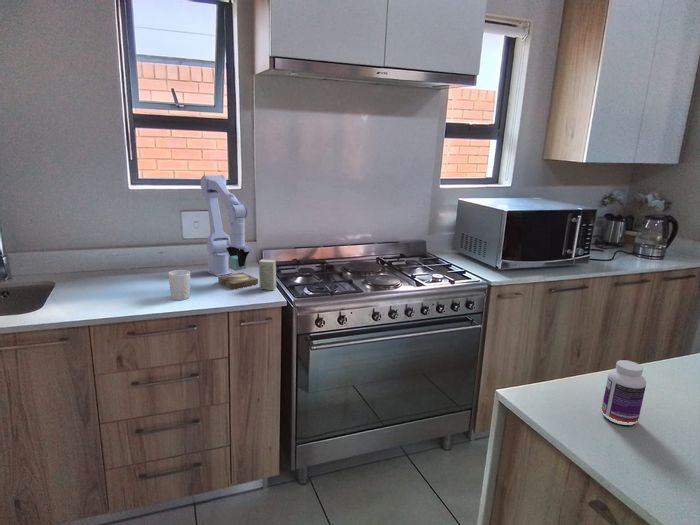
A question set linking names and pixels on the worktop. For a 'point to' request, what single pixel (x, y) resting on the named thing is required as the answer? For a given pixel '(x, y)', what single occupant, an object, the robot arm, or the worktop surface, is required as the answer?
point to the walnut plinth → (237, 280)
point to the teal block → (235, 263)
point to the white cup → (179, 284)
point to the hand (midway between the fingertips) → (238, 264)
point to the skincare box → (267, 274)
